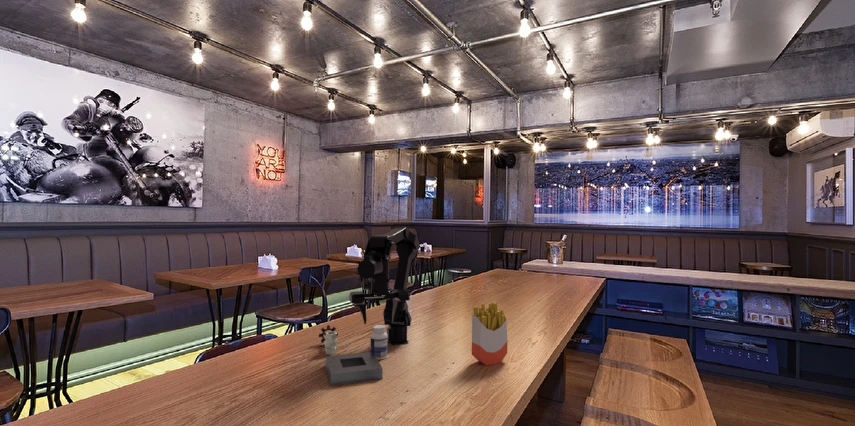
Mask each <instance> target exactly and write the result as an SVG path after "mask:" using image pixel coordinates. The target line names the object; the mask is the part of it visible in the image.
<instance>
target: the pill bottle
mask: <svg viewBox="0 0 855 426" xmlns="http://www.w3.org/2000/svg"><path fill="white" fill-rule="evenodd" d="M386 331H387V328H386V325H385V324H376V325H373V326H372V333H371V334H370V350H369V352H372V353H373V354H374V356H375V357H376V359H377V360H378V361H379V360H385V359H386V358H387V357H388V340H387V332H386Z"/></svg>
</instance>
